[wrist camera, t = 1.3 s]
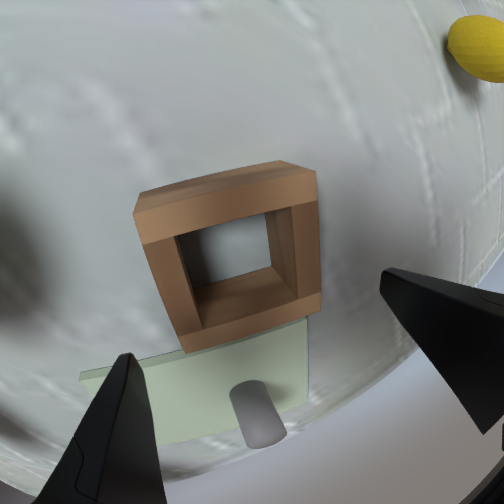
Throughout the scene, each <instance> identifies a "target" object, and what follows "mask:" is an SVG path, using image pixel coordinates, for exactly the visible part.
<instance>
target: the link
mask: <svg viewBox="0 0 504 504" xmlns="http://www.w3.org/2000/svg"><path fill="white" fill-rule="evenodd" d="M264 212H265V219H266V226H267V234H268V241H269V249H270V257H271V265H272V266H270V267H267V268H264V269H260V270H257V271H253V272H250V273H247V274H243V275H240V276H236V277H233V278H229V279H226V280H223V281H219V282H216V283H212V284H209V285H205V286H202V287H198V288H194V289H193V288H192V284H191V281H190V278H189V275H188V271H187V268H186V265H185V261H184V258H183V254H182V251H181V247H180V244H179V240H178V237H177V235H180V234H183V233H187V232H191V231H194V230H198V229H202V228H205V227H209V226H213V225H217V224H221V223H225V222H228V221H232V220H236V219H240V218H244V217H248V216H252V215H256V214H260V213H264ZM133 217H134V221H135V224H136V227H137V230H138V234H139V237H140V240H141V243H142V246H143V249H144V252H145V255H146V258H147V260H148V263H149V266H150V269H151V272H152V274H153V277H154V280H155V283H156V285H157V288H158V290H159V293H160V296H161V298H162V301H163V303H164V306H165V308H166V311H167V313H168V316H169V318H170V320H171V323H172V325H173V327H174V330H175V332H176V334H177V337H178V339H179V341H180V343H181V346H182V348H183V350H184V352H185V354H189V353H193V352H196V351H200V350H204V349H207V348H211V347H214V346H217V345H221V344H224V343H228V342H231V341H234V340H237V339H240V338H244V337H247V336H250V335H253V334H256V333H259V332H262V331H265V330H268V329H271V328H274V327H277V326H280V325H283V324H285V323H288V322H291V321H294V320H297V319H299V318H302V317H305V316H307V315H310V314H313V313H315V312H318V311H321V276H320V238H319V216H318V199H317V185H316V172H315V171H313V170H310V169H307V168H304V167H300V166H297V165H294V164H291V163H287V162H284V161H281V160H280V161H274V162H268V163H263V164H258V165H252V166H247V167H242V168H238V169H233V170H228V171H224V172H219V173H215V174H210V175H206V176H202V177H198V178H193V179H189V180H185V181H182V182H178V183H174V184H170V185H166V186H163V187H159V188H155V189H152V190H148V191H145V192H142V193H140V195H139V197H138V200H137V203H136V206H135V209H134V212H133Z"/></svg>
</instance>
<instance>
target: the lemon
mask: <svg viewBox="0 0 504 504" xmlns="http://www.w3.org/2000/svg"><path fill="white" fill-rule="evenodd" d="M447 49H448V51H449V52H450V53H451V54H452V55H453V57H454V58H455V60H456V61H457V63H458V64H459V65H460V66H461V67H462V68H463V69H464V70H465V71H467V72H468V73H469V74H471V75H472V76H474V77H477V78H479V79H481V80H484V81H488V82H494V83H504V23H503V22H501V21H499V20H497V19H495V18H491V17H487V16H481V15H472V16H465V17H462V18H460V19H458V20H456V21H455V22H454V23H453V24H452V26H451V27H450V30H449V33H448V44H447Z"/></svg>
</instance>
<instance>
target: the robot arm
mask: <svg viewBox="0 0 504 504" xmlns="http://www.w3.org/2000/svg"><path fill="white" fill-rule="evenodd" d="M379 290H380V294H381V296H382V297H383V298H384V300H385V301H386V303H387V304H388V306H389V307H390V309H391V310H392V312H393V313H394V315H395V316H396V318H397V319H398V320H399V322H400V323H401V325H402V326H403V327H404V328H405V330H406V331H407V332H408V333H409V335H410V336H411V337H412V338H413V339H414V341H415V342H416V343H417V344H418V346H419V347H420V348H421V349H422V351H423V352H424V353H425V355H426V356H427V357H428V358H429V360H430V361H431V362H432V363H433V365H434V366H435V368H436V369H437V370H438V372H439V373H440V374H441V376H442V377H443V378H444V380H445V381H446V382H447V384H448V385H449V386H450V388H451V389H452V391H453V392H454V393H455V395H456V396H457V397H458V398H459V400H460V402H461V404H462V405H463V406H464V408H465V409H466V411H467V412H468V414H469V415H470V417H471V418H472V420H473V421H474V423H475V424H476V426H477V427H478V429H479V430H480V432H481V433H482V434H483V435H484V434H485V433H486V432H487V431H488V430H489V429H490V428H491V427H492V426H493V425H494V424H495V423H496V422H497V421H498V420H499V419H500V418H501V417H502V416H503V415H504V294H501V293H496V292H491V291H486V290H482V289H478V288H474V287H473V288H472V287H470V286H466V285H462V284H458V283H454V282H450V281H446V280H442V279H438V278H434V277H430V276H426V275H421V274H417V273H413V272H409V271H405V270H401V269H396V268H388V269H386V270H384V271H382V273H381V280H380V288H379ZM502 426H503V427H502V428H503V429H502V450H503V451H504V423H503V425H502ZM31 504H167V500H166V496H165V491H164V486H163V481H162V476H161V470H160V465H159V459H158V452H157V446H156V439H155V431H154V423H153V415H152V410H151V406H150V401H149V396H148V392H147V387H146V381H145V376H144V372H143V370H142V368H141V366H140V365H139V363H138V361H137V360H136V358H135V357H134V355H133V354H132V353H125V354H121V355H119V356H118V358H117V360H116V361H115V363H114V365H113V366H112V368H111V370H110V371H109V373H108V375H107V376H106V378H105V380H104V381H103V383H102V385H101V387H100V388H99V390H98V392H97V394H96V395H95V397H94V399H93V401H92V402H91V404H90V406H89V408H88V409H87V411H86V413H85V415H84V417H83V419H82V420H81V422H80V424H79V426H78V428H77V430H76V432H75V434H74V437H72V439H71V441H70V443H69V445H68V447H67V449H66V450H65V452H64V454H63V456H62V458H61V459H60V461H59V463H58V464H57V466H56V468H55V469H54V471H53V473H52V474H51V476H50V477H49V479H48V481H47V482H46V484H45V486H44V487H43V489H42V490H41V492H40V494H39V495H38V497H37V498H36V499H35V500H34V501H33V502H32V503H31ZM459 504H504V456H503V457H502V459H501V460H500V461H499V462H498V464H497V465H496V466H495V467H494V468H493V469H492V470H491V472H490V473H489V474H488V475H487V476H486V477H485V478H484V479H483V480H482V481H481V483H480V484H479V485H478V486H477V487H476V488H475V489H474V490H473V491H472V492H471V493H470V494H469V495H468V496H467V497H466V498H465V499H463V500H462V501H461V502H460V503H459Z"/></svg>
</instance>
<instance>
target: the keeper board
mask: <svg viewBox="0 0 504 504" xmlns="http://www.w3.org/2000/svg"><path fill="white" fill-rule="evenodd" d="M138 363H139V365H140V366H141V368H142V370H143V372H144V376H145V381H146V387H147V392H148V396H149V401H150V406H151V410H152V415H153V423H154V431H155V439H156V446H161V445H167V444H172V443H177V442H183V441H187V440H192V439H197V438H201V437H205V436H209V435H213V434H217V433H221V432H225V431H228V430H232V429H235V428H239V427H240V428H241V431H242V434H243V437H244V439H245V442H246V444H247V447H249V448H252V449H259V448H265V447H268V446H271V445H273V444H276V443H277V442H279V441H281V440H282V439H283V438H284V437H285V436H286V435H287V431H286V429H285V427H284V425H283V423H282V421H281V419H280V417H279V415H278V414H280V413H283V412H286V411H288V410H291V409H294V408H296V407H299V406H301V405H303V404H306V403H308V337H307V318H306V317H302V318H299V319H297V320H294V321H291V322H288V323H285V324H283V325H280V326H277V327H274V328H271V329H268V330H265V331H262V332H259V333H256V334H253V335H250V336H247V337H244V338H240V339H237V340H234V341H231V342H228V343H224V344H221V345H217V346H214V347H211V348H207V349H204V350H200V351H196V352H193V353H189V354H185V352H184V350H180V351H176V352H172V353H168V354H164V355H160V356H156V357H152V358H148V359H143V360H139V361H138ZM111 368H112V366H111V367H106V368H101V369H96V370H91V371H85V372H80V376H79V382H80V383H81V384H82V385H83V387H84V388H85V389H86V390H87V391H88V392H89V393H90V395H91V396H92V397H93V398H94V397H95V395H96V394H97V392H98V390H99V388H100V387H101V385H102V383H103V381H104V380H105V378H106V376H107V375H108V373H109V371H110V370H111Z"/></svg>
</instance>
